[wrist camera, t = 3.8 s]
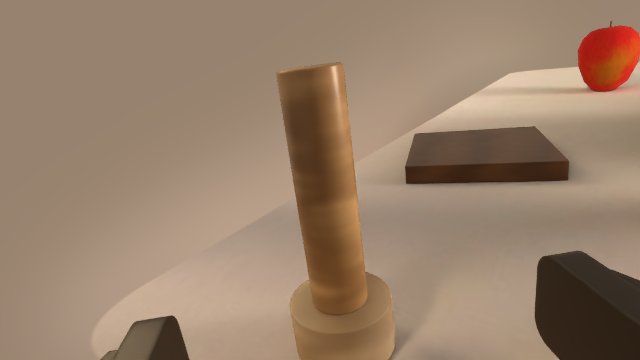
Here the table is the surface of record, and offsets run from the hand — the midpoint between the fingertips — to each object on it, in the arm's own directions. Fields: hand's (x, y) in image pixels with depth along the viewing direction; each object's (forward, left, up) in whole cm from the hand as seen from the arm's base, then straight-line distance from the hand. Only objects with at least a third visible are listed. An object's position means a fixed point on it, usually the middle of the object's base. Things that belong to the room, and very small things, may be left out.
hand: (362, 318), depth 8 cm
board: (+5, +37, -8) cm, 38 cm away
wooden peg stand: (-3, +8, -8) cm, 11 cm away
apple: (+30, +78, -8) cm, 84 cm away
